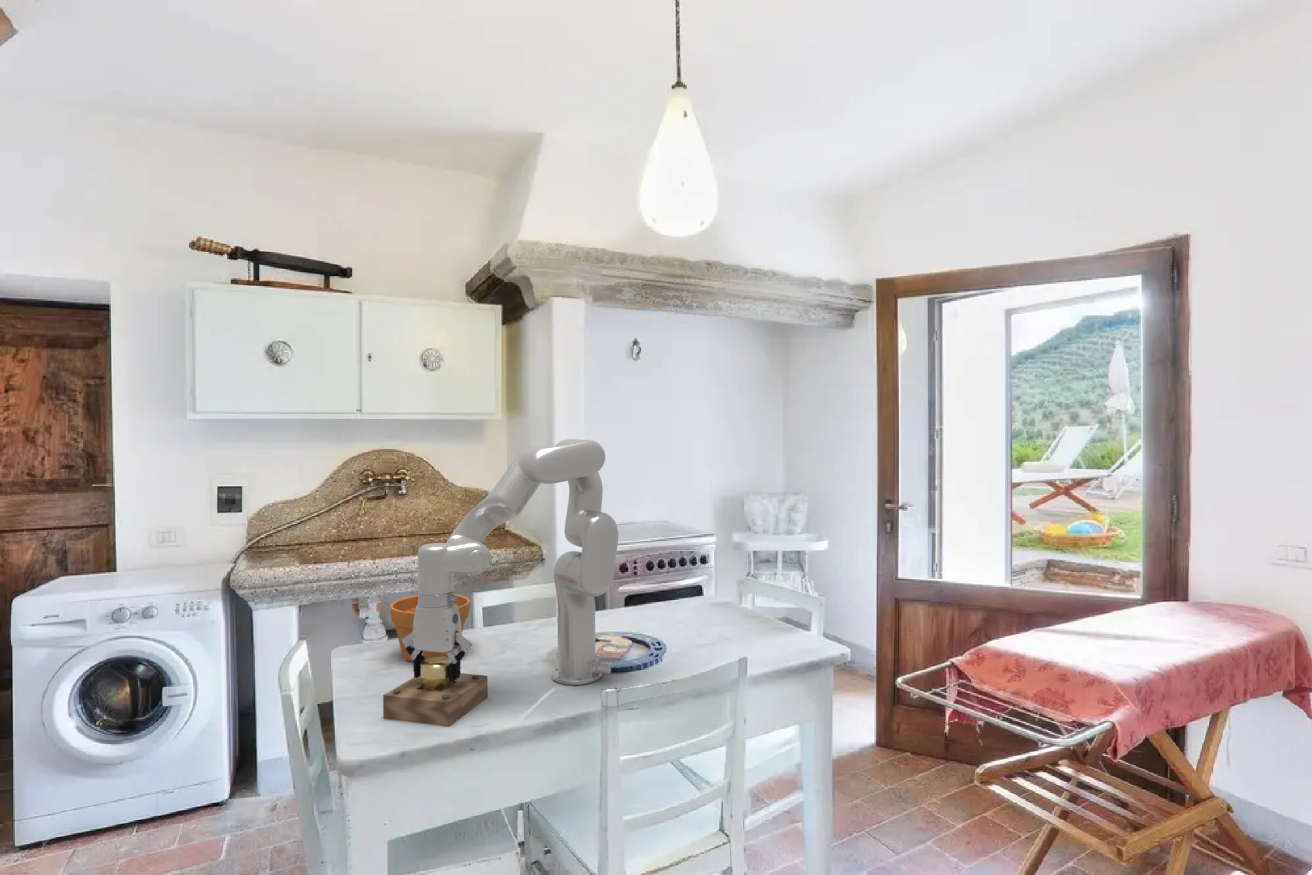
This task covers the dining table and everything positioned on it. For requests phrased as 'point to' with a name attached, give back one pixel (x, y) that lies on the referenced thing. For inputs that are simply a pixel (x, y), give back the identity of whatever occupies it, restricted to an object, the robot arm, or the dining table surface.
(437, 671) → the yellow translucent cylinder
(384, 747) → the dining table surface
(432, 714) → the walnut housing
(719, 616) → the dining table surface
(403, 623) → the flower pot
